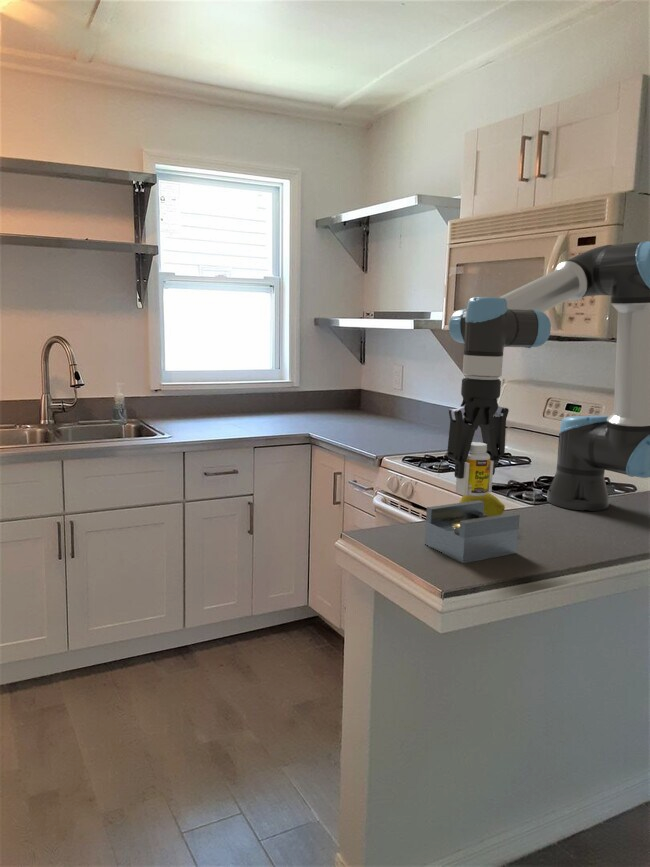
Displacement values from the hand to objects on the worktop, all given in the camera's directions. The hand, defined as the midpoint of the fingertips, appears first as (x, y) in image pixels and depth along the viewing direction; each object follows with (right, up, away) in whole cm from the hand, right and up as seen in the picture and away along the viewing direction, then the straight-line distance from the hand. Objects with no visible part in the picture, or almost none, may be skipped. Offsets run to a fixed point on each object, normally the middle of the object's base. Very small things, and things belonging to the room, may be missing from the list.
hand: (473, 492), depth 136 cm
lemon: (+5, -9, +19) cm, 22 cm away
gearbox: (0, -12, +2) cm, 12 cm away
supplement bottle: (0, -1, 0) cm, 1 cm away
